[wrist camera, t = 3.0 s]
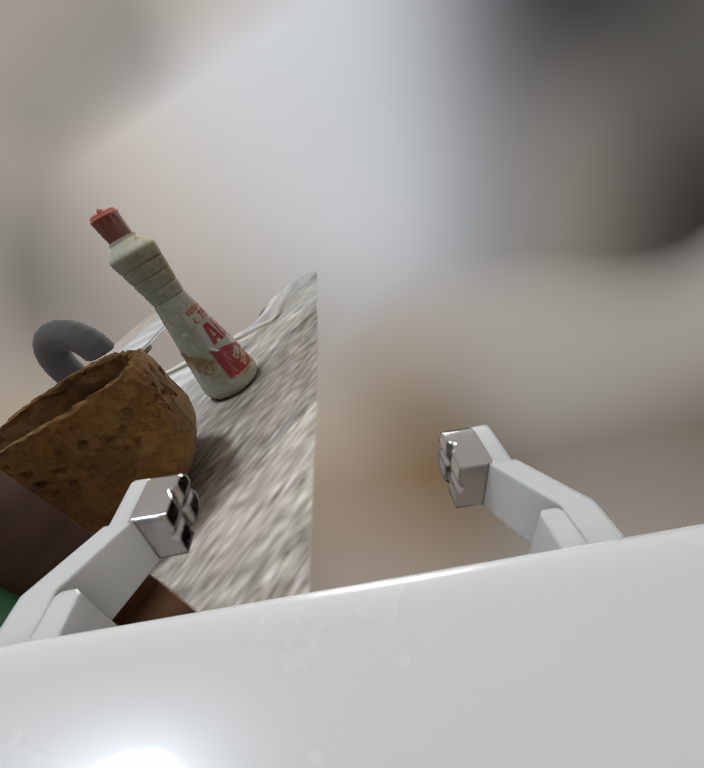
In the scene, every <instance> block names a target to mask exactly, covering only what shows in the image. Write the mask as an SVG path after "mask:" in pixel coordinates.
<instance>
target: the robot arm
mask: <svg viewBox="0 0 704 768" xmlns="http://www.w3.org/2000/svg"><path fill="white" fill-rule="evenodd" d="M439 443H440V445H441V447H442V448H441V449H440V451H439V452H438V453H439V454H438V460H439V466H440V470H441V474H442V476H443V478H444V480H445V481H446V482H448V483H449V492H450V495H451V497H452V499H453V501H454V504H455V506H456V508H462V507H469V506H476V505H483V506H484V507H485V508H487V509H488V510H489V511H490V512H491V513H493V514H494V515H495V516H496V517H498V518H499V519H500V520H502V522H504V523H505V524H506V525H507V526H509V527H510V528H511V529H512V530H514V531H515V532H516V533H517V534H519V535H520V536H521V537H522V538H524V539H525V540H526V541H527V542H528V543H530V544H531V546H530V549H529V553H528V555H522V556H516V557H511V558H505V559H499V560H494V561H488V562H482V563H476V564H471V565H465V566H459V567H453V568H448V569H442V570H436V571H431V572H425V573H419V574H413V575H408V576H402V577H396V578H390V579H385V580H379V581H374V582H368V583H362V584H356V585H350V586H345V587H339V588H334V589H328V590H322V591H316V592H310V593H305V594H299V595H293V596H287V597H282V598H276V599H270V600H264V601H259V602H253V603H247V604H241V605H236V606H230V607H224V608H218V609H213V610H207V611H201V612H195V613H190V614H184V615H178V616H172V617H167V618H161V619H155V620H149V621H144V622H138V623H132V624H126V625H121V626H117V625H116V624H115V623H114V622H112V620H113V618H114V617H115V616H116V615H117V613H118V612H119V611H120V610H121V608H122V607H123V606H124V605H125V603H126V602H127V601H128V600H129V599H130V597H131V596H132V595H133V594H134V592H135V591H136V590H137V589H138V587H139V586H140V585H141V584H142V582H143V581H144V580H145V579H146V577H147V576H148V575H149V574H150V572H151V571H152V570H153V569H154V567H155V566H156V565H157V564H158V562H159V561H160V559H161V558H166V557H171V556H176V555H181V554H186V553H189V549H190V546H191V543H192V539H193V536H194V532H193V530H192V529H191V527H192V526H193V525H194V524H195V523H196V522H197V521H198V518H199V514H200V500H199V496H198V494H197V492H196V491H195V490H193V489H192V488H190V487H189V485H190V482H191V481H190V479H189V477H188V476H187V474H176V475H169V476H161V477H154V478H149V479H142V480H135V481H134V482H133V483H131V485H130V486H129V488H128V490H127V492H126V494H125V496H124V498H123V500H122V502H121V504H120V505H119V507H118V509H117V511H116V513H115V515H114V517H113V519H112V521H111V523H110V525H109V526H105V527H103V528H102V529H100V530H99V531H98V532H97V533H96V534H94V535H93V536H92V537H91V538H90V539H89V540H87V541H86V542H85V543H84V544H83V545H81V546H80V547H79V548H78V549H77V550H75V551H74V552H73V553H72V554H71V555H69V556H68V557H67V558H66V559H65V560H64V561H62V562H61V563H60V564H59V565H58V566H56V567H55V568H54V569H53V570H52V571H50V572H49V573H48V574H47V575H46V576H44V577H43V578H42V579H41V580H40V581H39V582H37V583H36V584H35V585H34V586H33V587H31V588H30V589H29V590H28V591H27V592H25V593H24V594H23V595H22V596H21V597H20V598H19V600H18V601H17V603H16V604H15V606H14V607H13V609H12V611H11V612H10V614H9V615H8V617H7V618H6V620H5V622H4V623H3V625H2V626H1V628H0V768H704V524H700V525H694V526H689V527H683V528H677V529H672V530H666V531H660V532H655V533H649V534H643V535H637V536H632V537H626V538H625V537H624V536H623V535H622V534H621V532H620V531H619V530H618V529H617V528H616V526H615V525H614V524H613V523H612V522H611V521H610V519H609V518H608V517H607V516H606V514H605V513H604V512H603V511H602V510H601V508H600V507H599V506H598V505H597V504H596V502H595V501H594V500H592V499H590V498H588V497H586V496H585V495H583V494H581V493H579V492H577V491H575V490H573V489H571V488H570V487H568V486H566V485H564V484H562V483H560V482H558V481H556V480H554V479H553V478H550V477H549V476H547V475H545V474H543V473H541V472H539V471H537V470H536V469H534V468H532V467H530V466H528V465H526V464H524V463H522V462H520V461H519V460H512V459H511V458H510V457H509V455H508V454H507V452H506V451H505V449H504V448H503V446H502V445H501V444H500V442H499V441H498V439H497V438H496V436H495V435H494V433H493V432H492V431H491V429H490V428H489V426H487V425H482V426H476V427H471V428H466V429H459V430H453V431H447V432H441V433H440V435H439Z"/></svg>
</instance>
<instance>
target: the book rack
mask: <svg viewBox="0 0 704 768" xmlns="http://www.w3.org/2000/svg"><path fill="white" fill-rule="evenodd" d="M92 536H93V534H91V533H90V532H89V531H87V530H86V529H84V528H83V527H81V526H80V525H79V524H77V523H76V522H74V521H73V520H71V519H70V518H68V517H67V516H66V515H64V514H63V513H61V512H60V511H58V510H57V509H56V508H54V507H53V506H51V505H50V504H48V503H47V502H45V501H44V500H43V499H41V498H40V497H38V496H37V495H35V494H34V493H33V492H31V491H30V490H28V489H27V488H25V487H24V486H22V485H21V484H20V483H18V482H17V481H15V480H14V479H12V478H11V477H10V476H8V475H7V474H5V473H4V472H2V471H1V470H0V586H1V587H3V588H5V589H7V590H9V591H11V592H12V593H14V594H16V595H18V596H20V597H21V596H22V595H23V594H24V593H25V592H27V591H28V590H29V589H30V588H31V587H33V586H34V585H35V584H36V583H37V582H39V581H40V580H41V579H42V578H43V577H44V576H46V575H47V574H48V573H49V572H50V571H52V570H53V569H54V568H55V567H56V566H58V565H59V564H60V563H61V562H62V561H64V560H65V559H66V558H67V557H68V556H69V555H71V554H72V553H73V552H74V551H75V550H77V549H78V548H79V547H80V546H81V545H83V544H84V543H85V542H86V541H87V540H89V539H90V538H91V537H92ZM195 612H198V611H196V610H195V609H194V608H193V607H191V606H190V605H189V604H188V603H187V602H185V601H184V600H183V599H182V598H180V597H179V596H178V595H177V594H176V593H174V592H173V591H172V590H171V589H169V588H168V587H167V586H166V585H164V584H163V583H162V582H161V581H159V580H158V579H157V578H155V577H154V576H152V575H150V574H149V575H148V576H147V577H146V579H145V580H144V581H143V582H142V584H141V585H140V586H139V587H138V589H137V590H136V591H135V592H134V594H133V595H132V596H131V597H130V599H129V600H128V601H127V602H126V603H125V605H124V606H123V607H122V608H121V610H120V611H119V612H118V613H117V615H116V616H115V617H114V618H113V620H112V622H114V623H115V624H116V625H117V626H121V625H126V624H132V623H138V622H144V621H149V620H155V619H161V618H167V617H172V616H178V615H184V614H190V613H195Z"/></svg>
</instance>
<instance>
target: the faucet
mask: <svg viewBox="0 0 704 768" xmlns="http://www.w3.org/2000/svg"><path fill="white" fill-rule="evenodd" d="M32 345H33V350H34V354H35V357H36V359H37V360H38V362H39V364H40V365H41V367H42V368H43V369H44V370H45V372H46V373H47V374H48V375H49V376H50V377H51V378H52V379H54V380H55V381H56V382H57V383H59V382H60V381H62V380H64V379H65V378H66V377H68V376H69V375H71V374H73V373H75V372H78V371H79V370H80V369H81V368H83V367H84V366H83V365H82V364H81V363H80V362H79V361H78V360H77V359H76V357H75V356H74V355H73V353H72V352H74V353H76V354H78V355H79V356H81V357H82V358H83V359H85V360H86V361H93V360H96V359H98V358H100V357H102V356H103V355H105V354H106V353H108V352H109V351H111V350H112V349H113V348H114V343H113V342H112V341H111V340H110V339H108V338H107V337H106V336H105V335H104V334H102V333H101V332H99V331H98V330H96V329H94V328H92V327H90V326H88V325H86V324H84V323H80V322H76V321H72V320H54V321H51V322H48V323H46V324H43V325H42V326H41V327H40V328H39V329H38V330H37V331H36V333H35V334H34V338H33V344H32Z"/></svg>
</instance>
